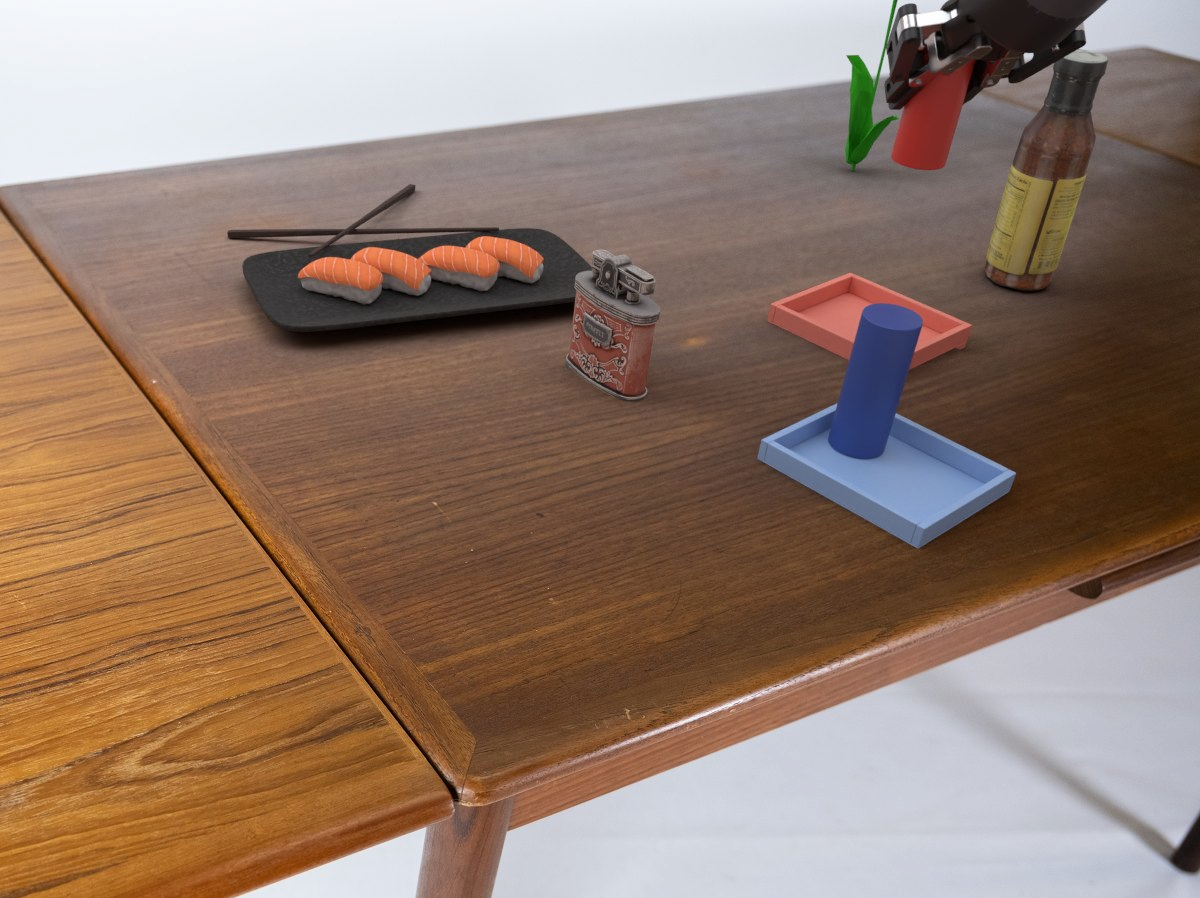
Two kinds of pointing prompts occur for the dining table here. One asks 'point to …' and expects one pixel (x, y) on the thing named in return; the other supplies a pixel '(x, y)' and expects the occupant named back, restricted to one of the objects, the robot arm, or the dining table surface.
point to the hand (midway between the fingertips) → (920, 97)
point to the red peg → (931, 120)
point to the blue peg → (874, 380)
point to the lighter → (613, 326)
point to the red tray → (837, 313)
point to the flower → (864, 107)
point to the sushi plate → (408, 274)
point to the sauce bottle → (1046, 178)
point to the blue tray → (891, 476)
